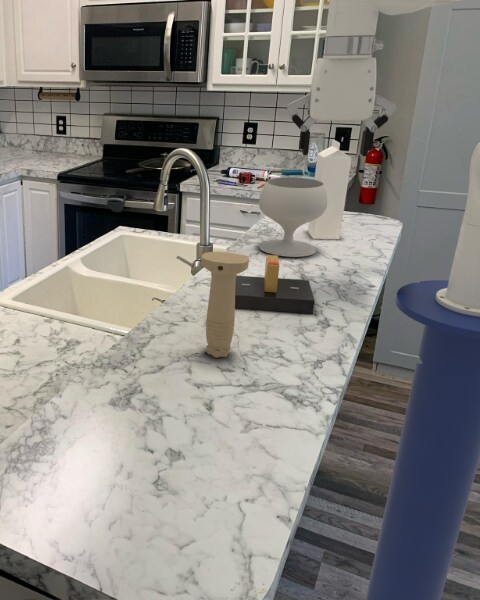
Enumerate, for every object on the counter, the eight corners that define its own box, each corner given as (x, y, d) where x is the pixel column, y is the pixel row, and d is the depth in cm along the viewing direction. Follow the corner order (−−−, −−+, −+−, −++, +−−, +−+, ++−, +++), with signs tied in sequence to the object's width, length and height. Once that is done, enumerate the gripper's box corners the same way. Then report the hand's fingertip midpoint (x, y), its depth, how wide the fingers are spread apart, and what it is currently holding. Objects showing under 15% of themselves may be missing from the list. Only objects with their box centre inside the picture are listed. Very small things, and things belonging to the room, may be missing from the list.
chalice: (252, 239, 143) (258, 175, 138) (314, 241, 141) (323, 176, 135) (257, 258, 131) (264, 188, 125) (326, 261, 128) (336, 190, 123)
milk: (333, 232, 148) (347, 139, 139) (339, 239, 142) (354, 143, 134) (306, 232, 148) (319, 139, 140) (312, 239, 143) (325, 142, 135)
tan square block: (263, 281, 111) (266, 253, 109) (275, 281, 110) (278, 254, 108) (264, 291, 106) (267, 263, 104) (276, 292, 105) (279, 264, 103)
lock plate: (307, 292, 112) (309, 279, 111) (312, 314, 103) (314, 299, 102) (229, 287, 115) (230, 274, 114) (227, 307, 106) (228, 293, 105)
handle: (201, 343, 94) (206, 249, 88) (243, 351, 91) (252, 255, 85) (192, 356, 90) (197, 259, 84) (235, 365, 87) (244, 265, 81)
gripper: (400, 47, 102) (382, 152, 108) (291, 49, 106) (280, 150, 112) (411, 47, 95) (392, 159, 101) (294, 50, 99) (283, 157, 105)
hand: (333, 154), depth 107 cm, fingers open, 9 cm apart
